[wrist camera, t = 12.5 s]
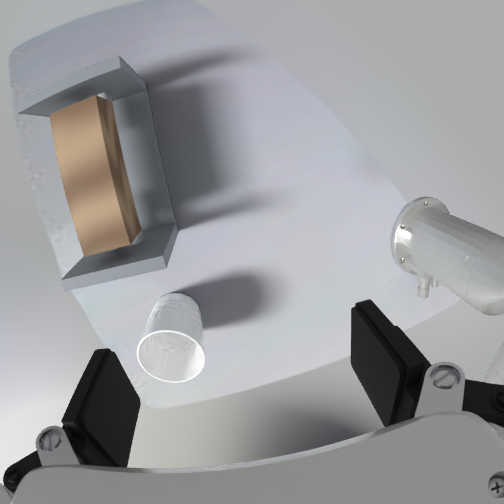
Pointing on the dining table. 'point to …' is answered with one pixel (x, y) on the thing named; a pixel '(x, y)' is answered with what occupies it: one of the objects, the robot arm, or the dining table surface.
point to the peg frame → (136, 162)
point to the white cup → (173, 340)
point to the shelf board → (95, 175)
